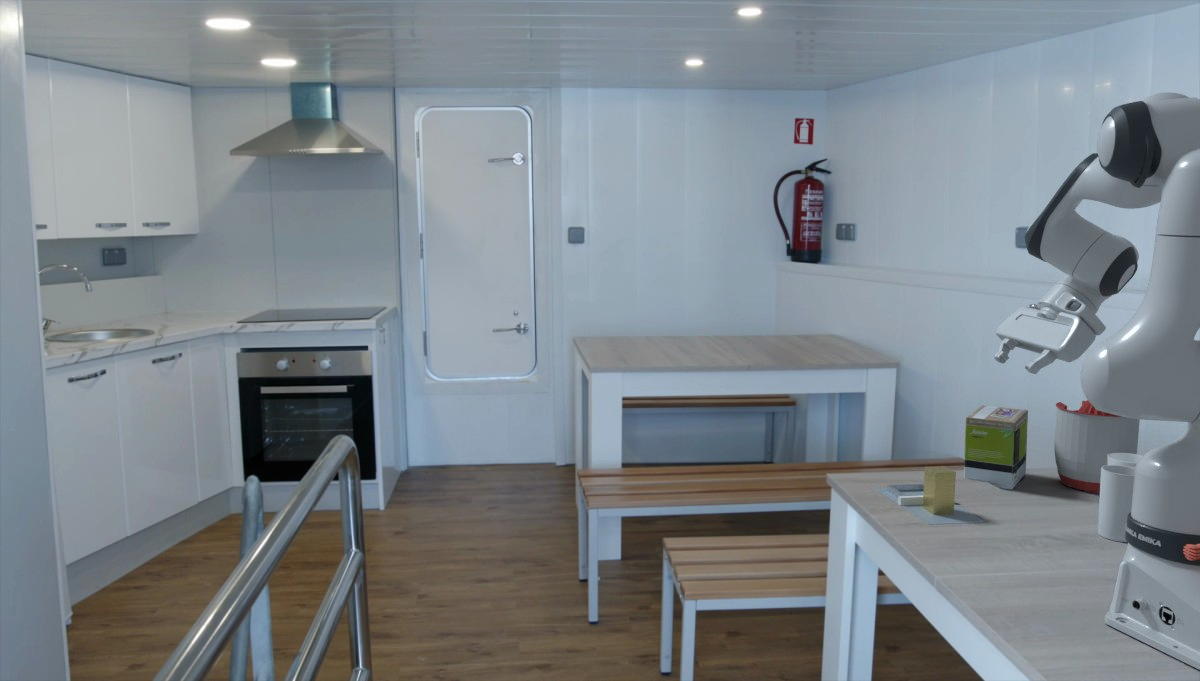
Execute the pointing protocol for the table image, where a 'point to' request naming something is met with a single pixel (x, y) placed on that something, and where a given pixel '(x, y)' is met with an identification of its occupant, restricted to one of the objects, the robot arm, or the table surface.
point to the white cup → (1123, 459)
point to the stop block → (939, 490)
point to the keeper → (904, 489)
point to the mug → (1115, 501)
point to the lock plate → (916, 508)
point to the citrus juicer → (1090, 443)
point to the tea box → (996, 446)
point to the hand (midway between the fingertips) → (1013, 365)
